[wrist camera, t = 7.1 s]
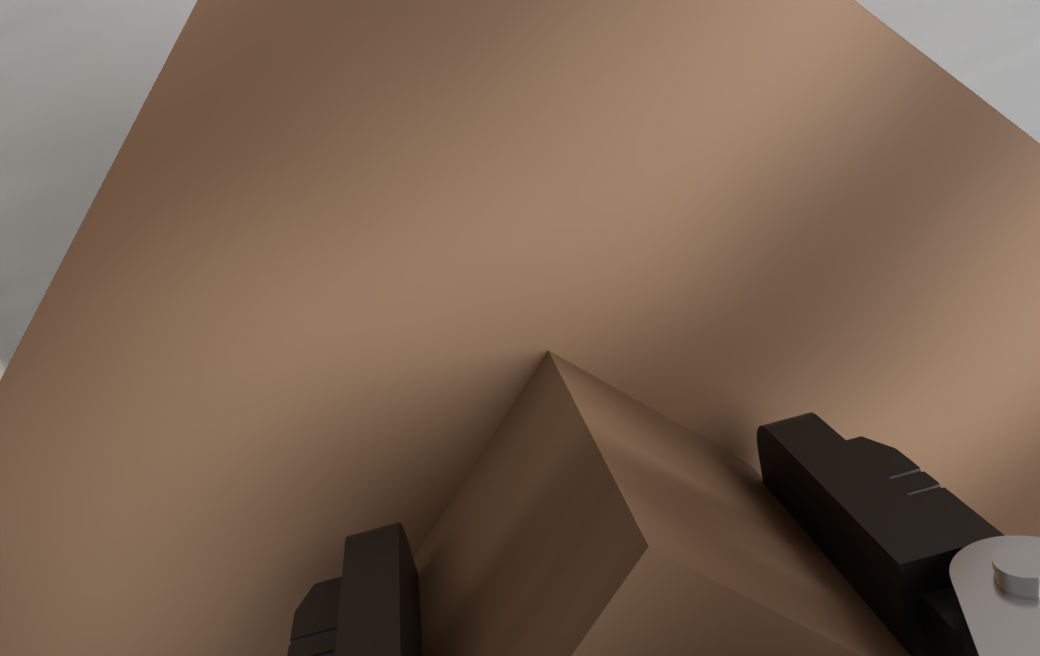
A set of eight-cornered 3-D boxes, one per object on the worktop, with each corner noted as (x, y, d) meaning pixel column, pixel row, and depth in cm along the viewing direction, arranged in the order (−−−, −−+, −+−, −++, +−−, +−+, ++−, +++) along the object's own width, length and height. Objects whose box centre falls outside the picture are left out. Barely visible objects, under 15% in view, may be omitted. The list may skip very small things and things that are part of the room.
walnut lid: (1225, 308, 14) (1748, 474, 9) (686, 976, 17) (828, 1420, 12) (386, -332, 10) (378, -768, 5) (-141, 676, 13) (-531, 1138, 8)
